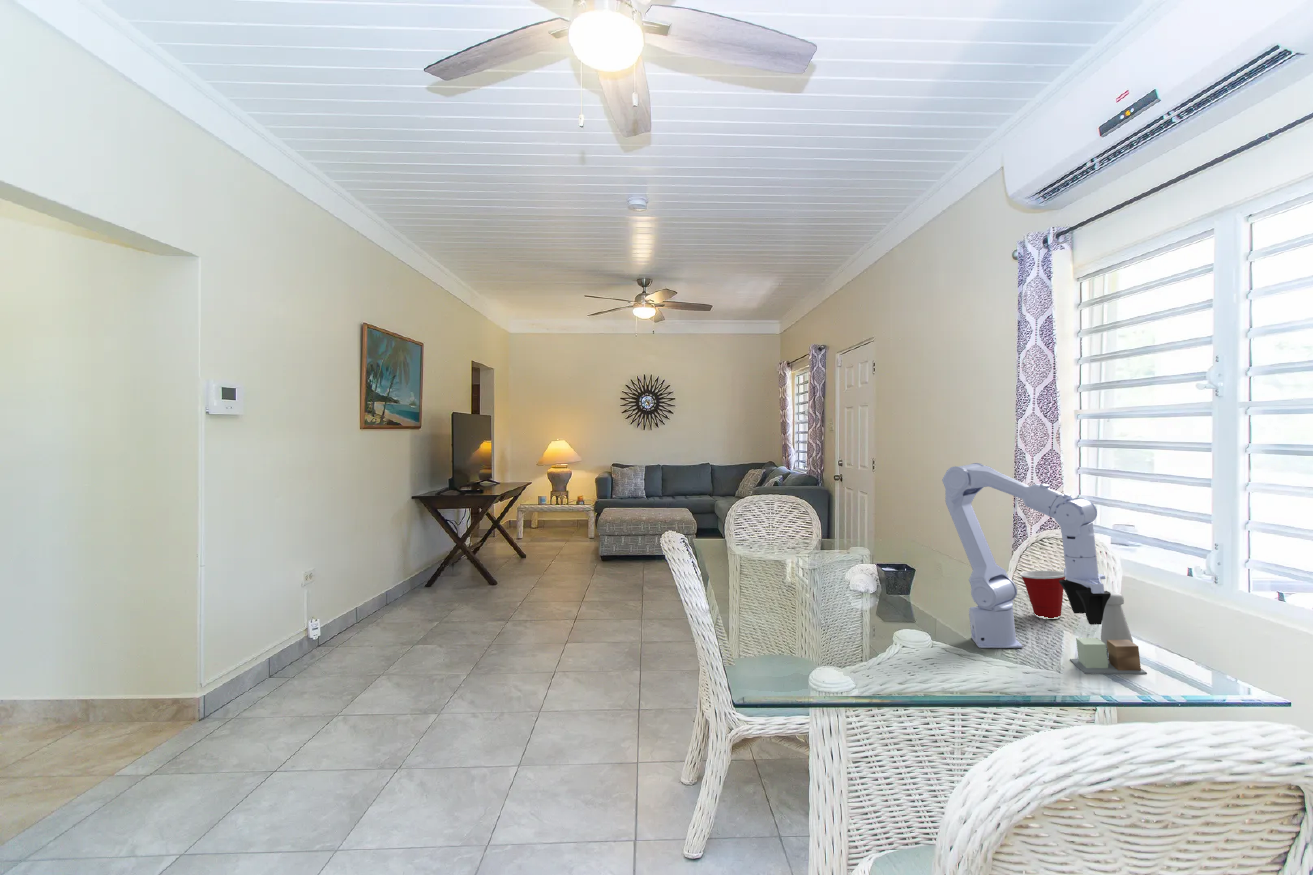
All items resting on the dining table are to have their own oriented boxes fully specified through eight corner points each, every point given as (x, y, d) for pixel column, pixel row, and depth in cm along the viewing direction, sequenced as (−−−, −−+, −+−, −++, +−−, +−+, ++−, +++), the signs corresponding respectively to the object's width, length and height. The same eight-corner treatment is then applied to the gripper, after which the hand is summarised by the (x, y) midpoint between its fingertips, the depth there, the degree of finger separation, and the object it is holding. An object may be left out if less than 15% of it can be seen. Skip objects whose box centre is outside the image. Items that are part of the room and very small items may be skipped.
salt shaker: (1140, 654, 130) (1133, 595, 130) (1110, 655, 131) (1104, 597, 131) (1124, 645, 135) (1118, 588, 135) (1096, 646, 136) (1090, 590, 137)
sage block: (1086, 667, 125) (1083, 644, 125) (1078, 660, 129) (1076, 637, 129) (1108, 667, 124) (1105, 644, 124) (1099, 660, 128) (1097, 637, 128)
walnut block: (1118, 670, 122) (1115, 646, 123) (1109, 663, 126) (1106, 639, 126) (1141, 670, 121) (1138, 646, 122) (1131, 663, 125) (1128, 639, 125)
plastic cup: (1058, 609, 164) (1053, 566, 164) (1080, 621, 153) (1075, 575, 153) (1016, 611, 165) (1011, 569, 165) (1035, 623, 154) (1030, 578, 155)
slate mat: (1084, 673, 123) (1084, 672, 123) (1070, 660, 130) (1069, 658, 130) (1146, 673, 120) (1146, 672, 120) (1128, 659, 128) (1127, 658, 128)
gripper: (1118, 561, 119) (1125, 628, 119) (1086, 547, 133) (1093, 607, 133) (1078, 563, 121) (1085, 629, 120) (1050, 549, 135) (1057, 608, 134)
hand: (1087, 618), depth 127 cm, fingers open, 7 cm apart
